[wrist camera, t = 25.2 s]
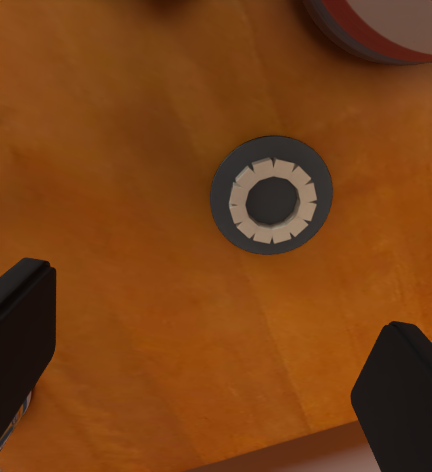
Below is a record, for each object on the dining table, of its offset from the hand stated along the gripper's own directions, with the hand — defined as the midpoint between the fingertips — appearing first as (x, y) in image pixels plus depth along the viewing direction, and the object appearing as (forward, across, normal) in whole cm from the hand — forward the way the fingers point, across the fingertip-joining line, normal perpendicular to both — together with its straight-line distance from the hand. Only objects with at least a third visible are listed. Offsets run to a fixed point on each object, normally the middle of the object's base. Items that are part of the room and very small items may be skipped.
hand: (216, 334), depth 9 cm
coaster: (+21, -5, +1) cm, 22 cm away
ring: (+21, -5, +1) cm, 22 cm away
